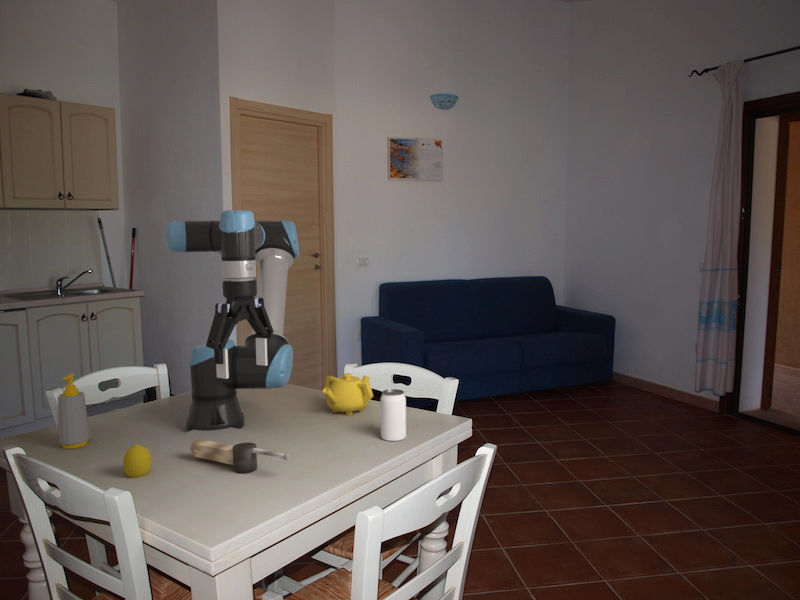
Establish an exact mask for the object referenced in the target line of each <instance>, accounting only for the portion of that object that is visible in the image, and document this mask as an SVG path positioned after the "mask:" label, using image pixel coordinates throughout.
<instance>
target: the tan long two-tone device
mask: <svg viewBox="0 0 800 600" xmlns="http://www.w3.org/2000/svg"><path fill="white" fill-rule="evenodd" d="M190 452H191V454H193V455H194V457H196V458H200V459H205V460H210V461H214V462H218V463H221V464H227V465H232V466H233V469H232V470H233V472H234V473H236V474H249V473H253V472H255V471H257V469H258V455H263V456H267V457H272V458H278V459H282V460H285V461H289V460H290V458H291V455H290V453H282V452H278V451H273V450H272V451H271V450H269V449H262V448H257V444H256V443H254V442H241V443H237V444H234V445H233V444H232V445H231V444H227V443H226V444H225V443H221V442H215V441H212V440H206V439H196V440H194V441H193V442H192V443H191V445H190Z"/></svg>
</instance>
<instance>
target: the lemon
mask: <svg viewBox="0 0 800 600" xmlns="http://www.w3.org/2000/svg"><path fill="white" fill-rule="evenodd" d="M152 460H153V459H152V455H151V453H150V451H149V449H148V448H147V447H146V446H144V445H139V444H138V443H136V444H134V445H133V446H131V447H129V448H128V449H127V450H126V452H125V454H124V457H123V460H122V462H123V463H122V465H123V466H122V467H123V471H124V473H125V475H126V476H127V477H128V478H132V479H133V478H134V479H135V478H142V477H145V476H146V475H147V474H149V472H150V471H151V468H152V462H153V461H152Z"/></svg>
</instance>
